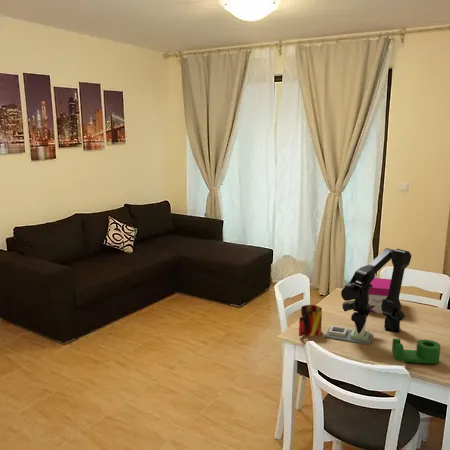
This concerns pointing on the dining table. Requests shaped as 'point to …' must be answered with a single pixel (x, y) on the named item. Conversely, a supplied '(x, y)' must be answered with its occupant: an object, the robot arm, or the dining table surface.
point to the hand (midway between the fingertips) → (360, 329)
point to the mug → (310, 320)
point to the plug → (361, 330)
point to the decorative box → (378, 293)
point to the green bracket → (417, 352)
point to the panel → (348, 335)
